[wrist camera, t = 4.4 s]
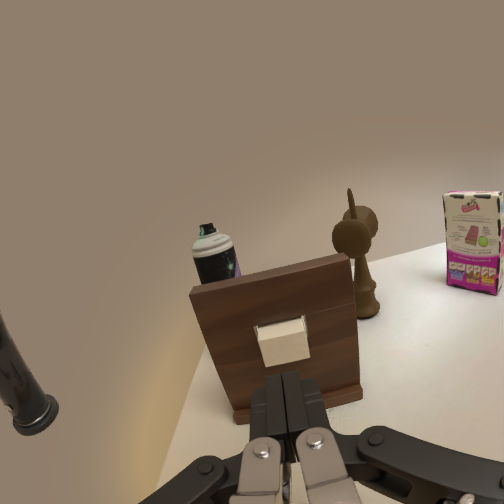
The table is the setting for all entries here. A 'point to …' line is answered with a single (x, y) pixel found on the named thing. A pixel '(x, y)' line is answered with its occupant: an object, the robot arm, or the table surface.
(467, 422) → the table surface
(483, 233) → the candy bar box
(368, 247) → the kendama
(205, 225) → the spray can
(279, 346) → the switch paddle
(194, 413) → the table surface
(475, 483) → the robot arm
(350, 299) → the wall plate
